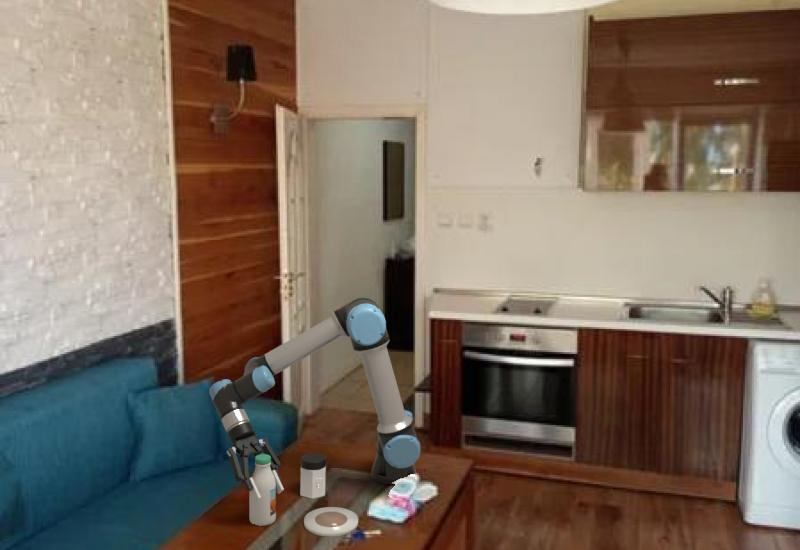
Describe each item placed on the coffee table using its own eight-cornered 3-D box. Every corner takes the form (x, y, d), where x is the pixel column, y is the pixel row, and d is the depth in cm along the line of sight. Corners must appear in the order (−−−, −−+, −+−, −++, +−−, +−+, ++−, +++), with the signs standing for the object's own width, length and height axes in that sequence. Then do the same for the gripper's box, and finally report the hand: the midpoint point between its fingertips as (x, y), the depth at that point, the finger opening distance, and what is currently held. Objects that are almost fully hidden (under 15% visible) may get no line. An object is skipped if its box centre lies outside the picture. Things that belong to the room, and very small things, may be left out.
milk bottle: (263, 529, 222) (263, 464, 219) (243, 521, 226) (243, 457, 223) (281, 519, 229) (281, 455, 225) (261, 512, 233) (261, 449, 229)
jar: (306, 501, 241) (306, 464, 239) (294, 491, 247) (295, 455, 246) (331, 494, 246) (332, 459, 244) (319, 485, 252) (320, 450, 251)
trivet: (354, 509, 236) (354, 505, 236) (361, 534, 221) (361, 530, 220) (302, 512, 233) (302, 508, 233) (305, 538, 218) (305, 533, 218)
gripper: (261, 426, 242) (292, 491, 233) (204, 441, 227) (234, 511, 219) (271, 414, 237) (303, 480, 228) (213, 429, 223) (245, 500, 214)
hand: (269, 495), depth 223 cm, fingers closed on milk bottle, 7 cm apart
